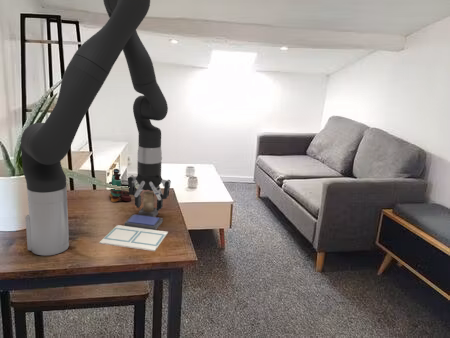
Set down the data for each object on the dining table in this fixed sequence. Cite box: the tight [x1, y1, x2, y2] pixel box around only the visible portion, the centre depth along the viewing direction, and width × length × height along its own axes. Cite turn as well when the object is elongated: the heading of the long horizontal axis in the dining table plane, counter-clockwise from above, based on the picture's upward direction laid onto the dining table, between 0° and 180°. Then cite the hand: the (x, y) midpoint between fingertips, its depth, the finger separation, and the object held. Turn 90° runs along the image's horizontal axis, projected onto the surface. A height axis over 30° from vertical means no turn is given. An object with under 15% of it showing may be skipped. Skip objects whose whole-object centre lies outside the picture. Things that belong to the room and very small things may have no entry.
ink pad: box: [123, 213, 164, 230], centre depth 123 cm, size 10×7×2 cm
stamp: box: [138, 190, 159, 217], centre depth 129 cm, size 5×5×8 cm
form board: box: [99, 224, 169, 252], centre depth 114 cm, size 16×12×1 cm
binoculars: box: [108, 168, 138, 203], centre depth 142 cm, size 9×10×10 cm
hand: (148, 208), depth 130 cm, fingers open, 6 cm apart
